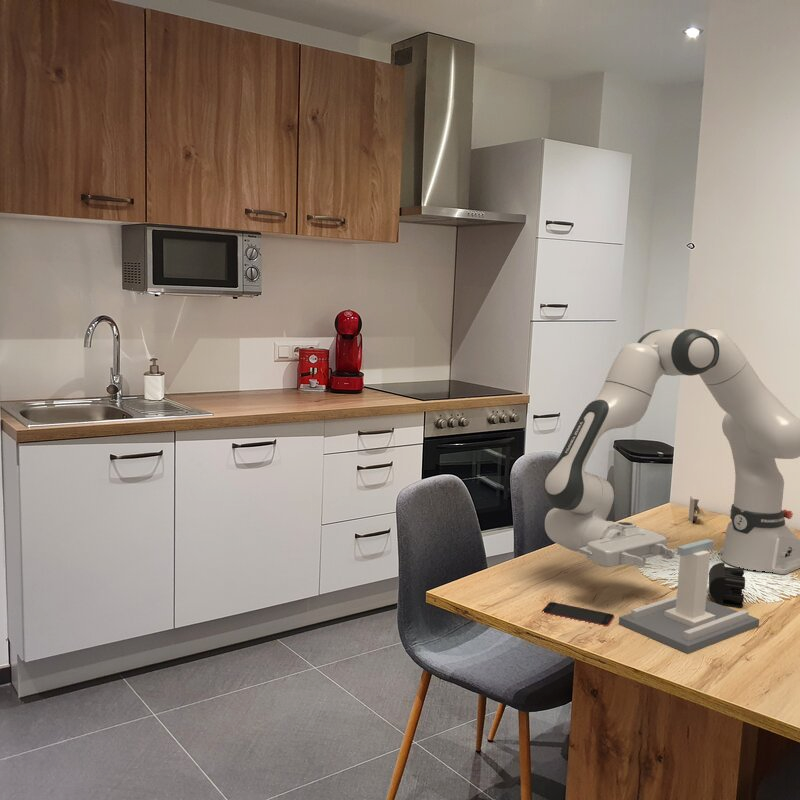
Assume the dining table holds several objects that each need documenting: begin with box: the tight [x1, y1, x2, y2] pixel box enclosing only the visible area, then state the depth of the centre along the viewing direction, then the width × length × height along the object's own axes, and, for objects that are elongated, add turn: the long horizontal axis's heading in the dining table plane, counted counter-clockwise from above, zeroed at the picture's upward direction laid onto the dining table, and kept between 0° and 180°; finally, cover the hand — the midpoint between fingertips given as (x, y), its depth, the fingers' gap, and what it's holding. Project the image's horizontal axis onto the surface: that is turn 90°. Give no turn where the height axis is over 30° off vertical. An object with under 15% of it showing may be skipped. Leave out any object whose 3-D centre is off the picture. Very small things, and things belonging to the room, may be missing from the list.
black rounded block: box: [708, 562, 746, 609], centre depth 183 cm, size 10×7×7 cm
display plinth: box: [618, 595, 760, 654], centre depth 168 cm, size 24×16×3 cm, turn 126°
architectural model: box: [688, 496, 706, 525], centre depth 244 cm, size 3×7×7 cm, turn 170°
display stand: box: [664, 538, 716, 628], centre depth 167 cm, size 7×10×16 cm
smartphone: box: [541, 601, 616, 627], centre depth 172 cm, size 7×1×14 cm
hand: (658, 559), depth 173 cm, fingers open, 8 cm apart
